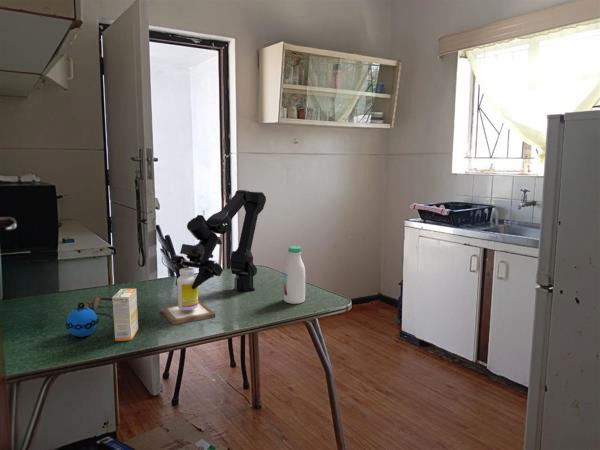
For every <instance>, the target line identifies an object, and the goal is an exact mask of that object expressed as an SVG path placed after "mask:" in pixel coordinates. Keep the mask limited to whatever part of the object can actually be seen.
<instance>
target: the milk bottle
mask: <svg viewBox="0 0 600 450" xmlns="http://www.w3.org/2000/svg"><path fill="white" fill-rule="evenodd" d="M287 250H288V253H287V254H288V258H287V260H286V263H285V266H284V270H283V301H284V302H285V303H288V304H293V305H297V304H298V305H299V304H301V303H304V302H305V300H306V268H305V264H304V262H303V260H302V257H301V254H302V247H301V246H299V245H298V246H297V245H292V246H288V249H287Z"/></svg>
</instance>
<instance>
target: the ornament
mask: <svg viewBox="0 0 600 450" xmlns="http://www.w3.org/2000/svg"><path fill="white" fill-rule="evenodd" d="M81 305H82V306H81ZM96 313H97V312H96ZM96 313H95V311H94V309H91V308H90V309H89V308H86V307H84V302H79V303H78V305H77V308H74V309H73V310H72V311H71V312H70V313H69V314H68V315H67V319H66V320H65V328H66V330H68V333H70V334H71V335H73V336H75V337H79V338H82V337H87V336H89V335H90V334H92V333H93V332H94V331H95V330H96V328H97V326H98V325H99V315H96Z"/></svg>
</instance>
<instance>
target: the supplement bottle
mask: <svg viewBox="0 0 600 450" xmlns="http://www.w3.org/2000/svg"><path fill="white" fill-rule="evenodd" d="M179 273H180V277H179V278H178V279H177V286H176V292H177V293H176V294H177V295H176V298H177V306H178V308H179V309H182V310H191V309H195V308H197V307H198V302H199V286H198V287H197V288H195V289H192V285H193V283H194V281H195V279H196V277H197V276H195V268H193V267H189V268H182V269H180V270H179Z"/></svg>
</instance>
